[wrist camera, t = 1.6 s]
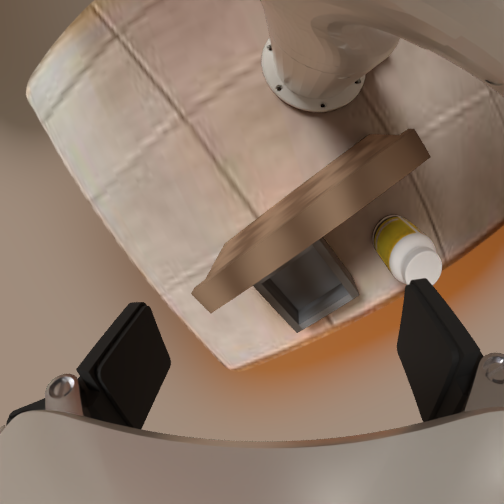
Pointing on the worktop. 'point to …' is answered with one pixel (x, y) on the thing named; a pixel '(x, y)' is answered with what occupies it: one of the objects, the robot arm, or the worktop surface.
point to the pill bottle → (406, 250)
